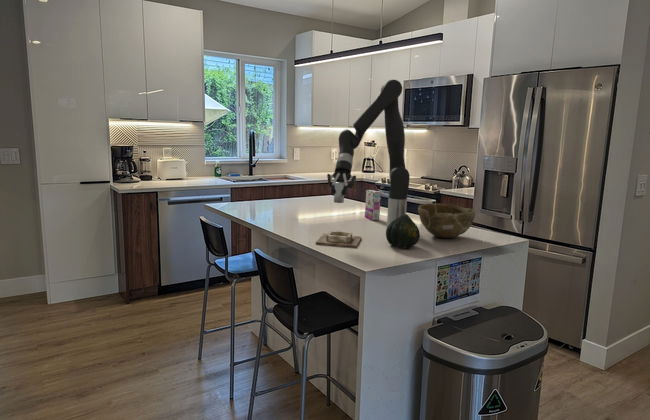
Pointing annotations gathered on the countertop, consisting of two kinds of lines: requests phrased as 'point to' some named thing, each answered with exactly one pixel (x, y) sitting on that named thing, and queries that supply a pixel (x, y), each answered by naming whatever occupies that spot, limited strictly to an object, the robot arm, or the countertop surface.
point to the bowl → (445, 219)
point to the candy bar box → (372, 204)
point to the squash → (402, 232)
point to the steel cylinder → (339, 192)
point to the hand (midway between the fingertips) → (338, 193)
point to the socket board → (339, 239)
